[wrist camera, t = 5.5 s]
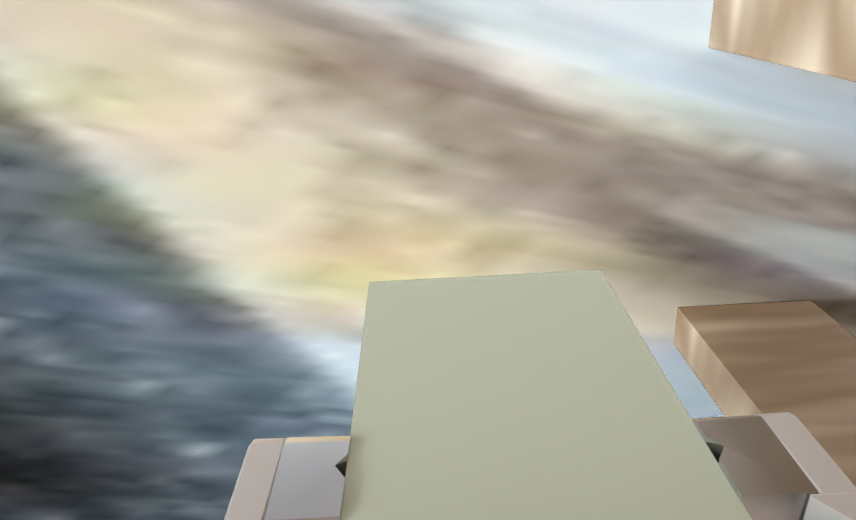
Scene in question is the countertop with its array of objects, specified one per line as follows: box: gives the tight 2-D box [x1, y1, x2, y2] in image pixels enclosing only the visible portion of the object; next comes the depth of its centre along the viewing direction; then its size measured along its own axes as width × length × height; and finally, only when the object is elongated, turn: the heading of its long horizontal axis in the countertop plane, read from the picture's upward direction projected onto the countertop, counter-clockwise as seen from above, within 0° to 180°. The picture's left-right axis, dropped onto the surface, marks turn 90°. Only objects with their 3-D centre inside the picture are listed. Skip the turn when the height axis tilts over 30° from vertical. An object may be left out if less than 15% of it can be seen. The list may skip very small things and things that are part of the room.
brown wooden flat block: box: [674, 300, 856, 487], centre depth 19 cm, size 2×5×12 cm, turn 93°
